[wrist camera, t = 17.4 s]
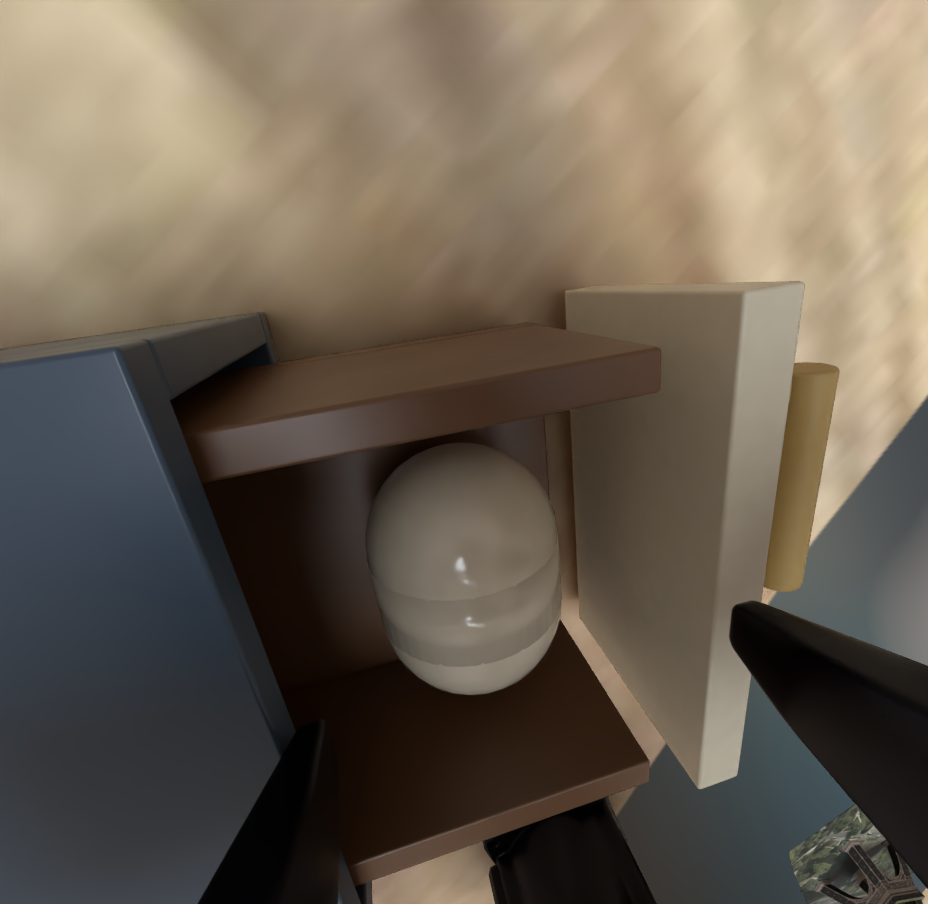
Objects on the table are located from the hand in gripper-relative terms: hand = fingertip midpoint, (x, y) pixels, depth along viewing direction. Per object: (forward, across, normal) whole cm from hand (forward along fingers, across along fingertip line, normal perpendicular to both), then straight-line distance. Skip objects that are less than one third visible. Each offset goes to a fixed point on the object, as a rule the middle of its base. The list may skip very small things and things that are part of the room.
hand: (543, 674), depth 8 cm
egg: (+4, +1, 0) cm, 4 cm away
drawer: (+7, 0, 0) cm, 7 cm away
